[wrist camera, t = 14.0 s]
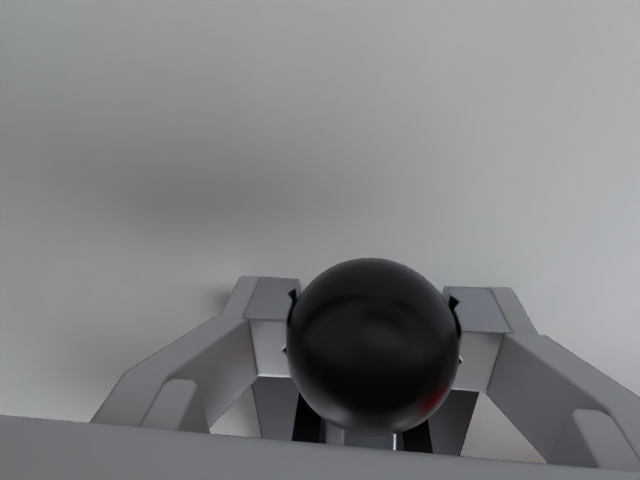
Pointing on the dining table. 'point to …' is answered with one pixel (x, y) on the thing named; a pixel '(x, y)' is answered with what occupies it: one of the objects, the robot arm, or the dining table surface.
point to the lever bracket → (307, 426)
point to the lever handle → (372, 349)
